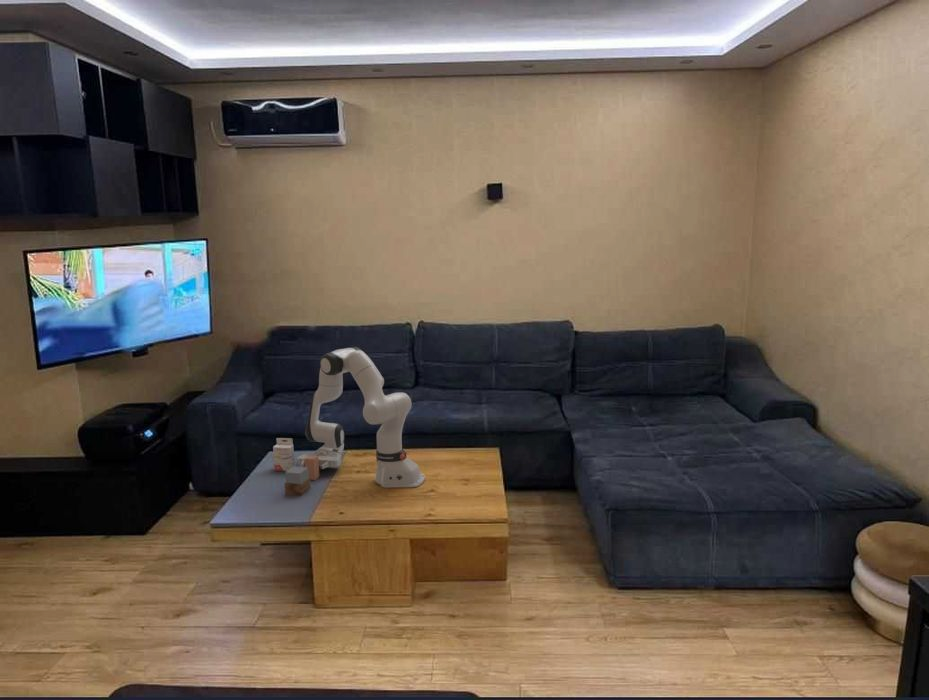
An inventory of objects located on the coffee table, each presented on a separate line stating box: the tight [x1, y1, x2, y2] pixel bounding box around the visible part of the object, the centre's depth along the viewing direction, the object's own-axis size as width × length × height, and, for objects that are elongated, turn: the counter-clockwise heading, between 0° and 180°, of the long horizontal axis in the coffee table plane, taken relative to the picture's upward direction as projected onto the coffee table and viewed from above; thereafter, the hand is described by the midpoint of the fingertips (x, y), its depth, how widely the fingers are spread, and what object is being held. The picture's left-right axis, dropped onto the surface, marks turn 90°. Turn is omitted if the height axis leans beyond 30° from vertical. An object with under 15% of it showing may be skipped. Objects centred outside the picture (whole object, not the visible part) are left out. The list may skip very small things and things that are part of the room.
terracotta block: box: [305, 455, 320, 481], centre depth 304 cm, size 4×4×10 cm
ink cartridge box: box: [272, 437, 296, 472], centre depth 315 cm, size 9×5×15 cm, turn 84°
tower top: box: [284, 465, 309, 485], centre depth 289 cm, size 7×7×5 cm
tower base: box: [284, 478, 312, 496], centre depth 290 cm, size 8×8×5 cm
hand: (311, 466), depth 303 cm, fingers open, 8 cm apart
